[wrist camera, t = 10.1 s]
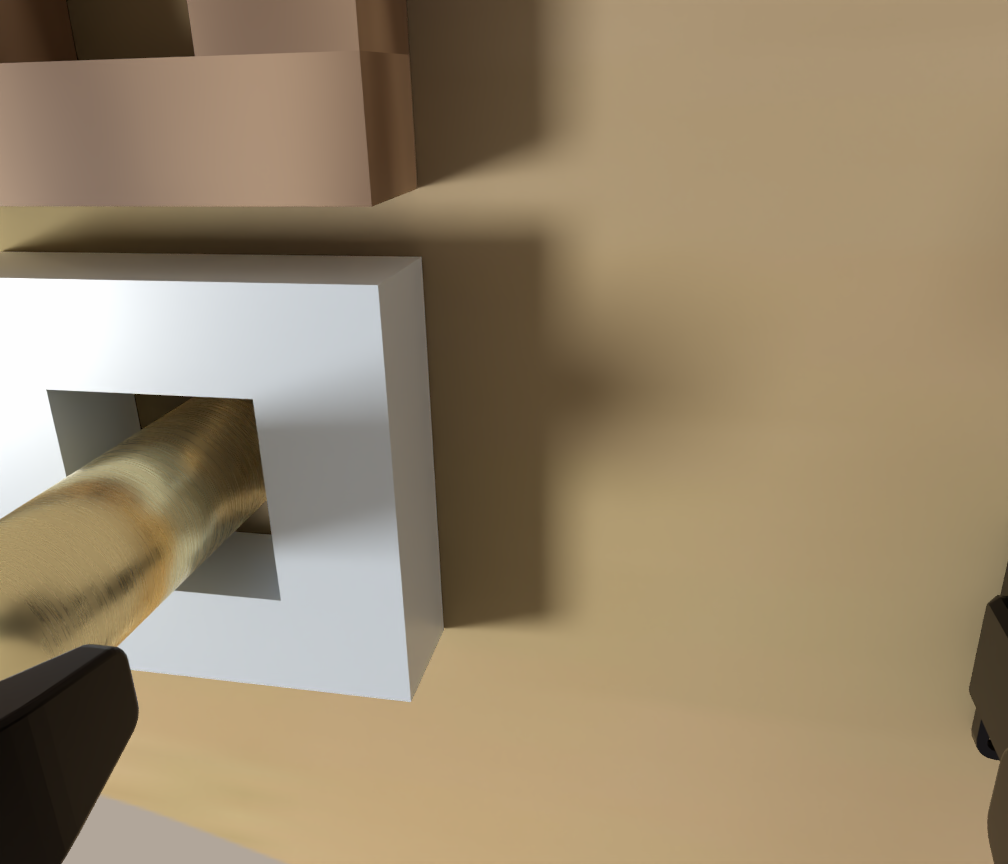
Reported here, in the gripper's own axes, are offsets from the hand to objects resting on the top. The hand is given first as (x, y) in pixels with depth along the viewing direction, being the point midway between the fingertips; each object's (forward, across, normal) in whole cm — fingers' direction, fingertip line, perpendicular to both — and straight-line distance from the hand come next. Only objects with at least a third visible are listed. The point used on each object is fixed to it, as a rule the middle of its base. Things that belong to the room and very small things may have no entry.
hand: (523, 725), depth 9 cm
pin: (+12, +10, +2) cm, 16 cm away
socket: (+12, +10, +2) cm, 16 cm away
